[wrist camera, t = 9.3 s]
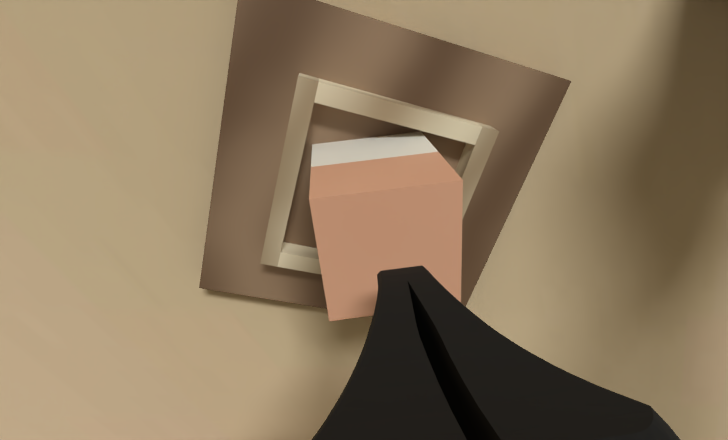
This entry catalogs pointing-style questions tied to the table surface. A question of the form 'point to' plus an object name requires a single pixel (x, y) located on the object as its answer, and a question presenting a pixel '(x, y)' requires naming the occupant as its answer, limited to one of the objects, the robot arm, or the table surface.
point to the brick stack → (383, 216)
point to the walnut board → (356, 134)
